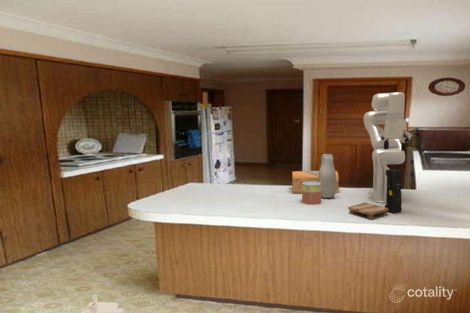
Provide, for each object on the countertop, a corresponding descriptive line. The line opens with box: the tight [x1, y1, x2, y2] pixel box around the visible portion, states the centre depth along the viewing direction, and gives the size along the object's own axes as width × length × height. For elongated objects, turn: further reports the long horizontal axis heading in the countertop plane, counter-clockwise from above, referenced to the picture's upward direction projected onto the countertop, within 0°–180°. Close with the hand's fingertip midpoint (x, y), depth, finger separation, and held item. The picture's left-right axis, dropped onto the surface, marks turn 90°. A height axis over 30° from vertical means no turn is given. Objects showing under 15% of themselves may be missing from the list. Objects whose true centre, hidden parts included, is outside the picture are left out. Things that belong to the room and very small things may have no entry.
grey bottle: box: [318, 153, 337, 199], centre depth 207 cm, size 10×10×28 cm
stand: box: [347, 202, 388, 221], centre depth 175 cm, size 14×14×4 cm
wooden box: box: [291, 170, 340, 194], centre depth 228 cm, size 30×16×14 cm, turn 81°
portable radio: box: [384, 167, 402, 214], centre depth 176 cm, size 8×6×25 cm
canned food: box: [301, 181, 322, 206], centre depth 199 cm, size 11×11×12 cm
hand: (394, 149), depth 173 cm, fingers open, 9 cm apart
